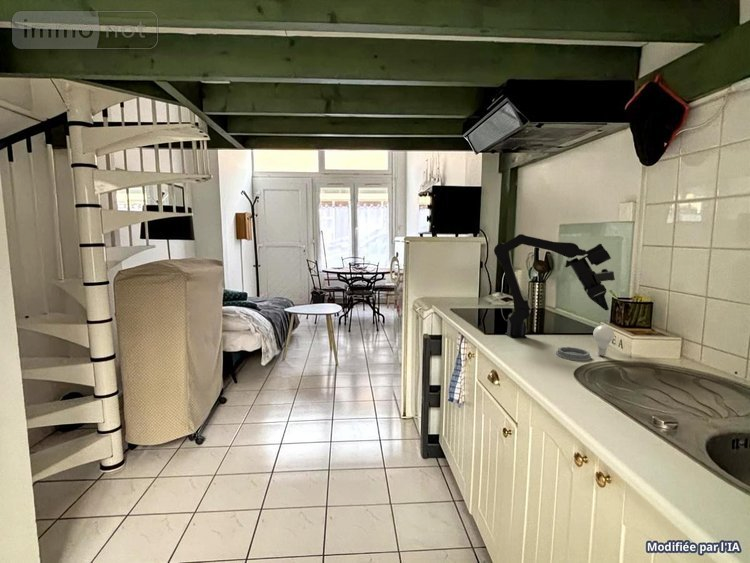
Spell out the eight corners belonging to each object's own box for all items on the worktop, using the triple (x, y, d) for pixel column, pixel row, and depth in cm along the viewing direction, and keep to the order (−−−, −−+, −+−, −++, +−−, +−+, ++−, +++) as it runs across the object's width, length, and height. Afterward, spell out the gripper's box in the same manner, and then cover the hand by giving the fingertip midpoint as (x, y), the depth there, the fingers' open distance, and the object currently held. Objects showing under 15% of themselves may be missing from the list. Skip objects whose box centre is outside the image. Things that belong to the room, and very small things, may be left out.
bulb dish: (566, 361, 132) (567, 355, 132) (549, 351, 143) (550, 346, 143) (598, 361, 133) (598, 355, 133) (578, 351, 144) (579, 346, 144)
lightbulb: (616, 359, 136) (619, 327, 135) (597, 358, 136) (600, 327, 135) (605, 353, 142) (608, 323, 141) (587, 353, 142) (590, 323, 141)
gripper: (608, 263, 140) (632, 301, 138) (602, 260, 157) (623, 295, 155) (577, 278, 145) (600, 316, 143) (574, 274, 162) (595, 307, 160)
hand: (605, 308), depth 150 cm, fingers open, 9 cm apart
